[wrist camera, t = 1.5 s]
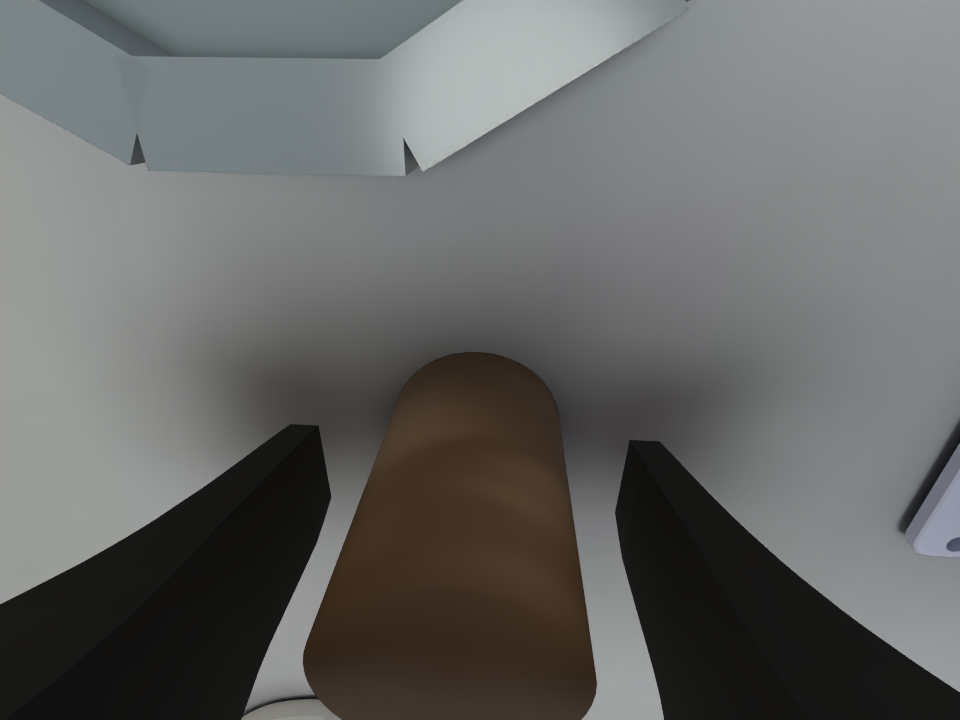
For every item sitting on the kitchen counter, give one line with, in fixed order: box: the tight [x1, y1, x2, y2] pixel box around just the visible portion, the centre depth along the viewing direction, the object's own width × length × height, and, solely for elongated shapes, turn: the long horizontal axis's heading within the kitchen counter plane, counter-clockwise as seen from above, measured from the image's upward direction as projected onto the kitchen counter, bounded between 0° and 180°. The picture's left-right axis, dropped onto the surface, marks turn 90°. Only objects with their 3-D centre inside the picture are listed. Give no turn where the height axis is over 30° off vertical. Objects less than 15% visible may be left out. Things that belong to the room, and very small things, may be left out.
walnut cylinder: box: [303, 352, 597, 720], centre depth 9 cm, size 4×4×6 cm
